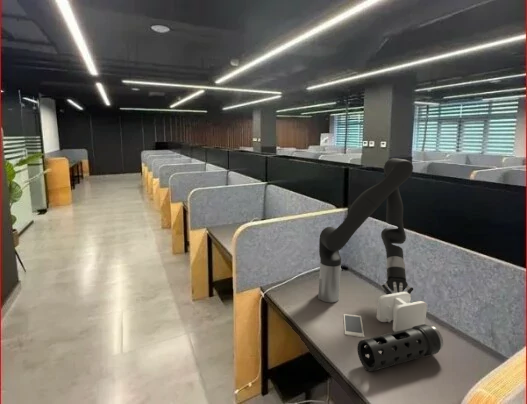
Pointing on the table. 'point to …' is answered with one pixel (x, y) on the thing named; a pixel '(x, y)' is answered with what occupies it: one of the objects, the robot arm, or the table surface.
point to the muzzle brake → (399, 347)
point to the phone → (353, 325)
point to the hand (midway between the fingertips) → (398, 309)
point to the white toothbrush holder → (401, 311)
